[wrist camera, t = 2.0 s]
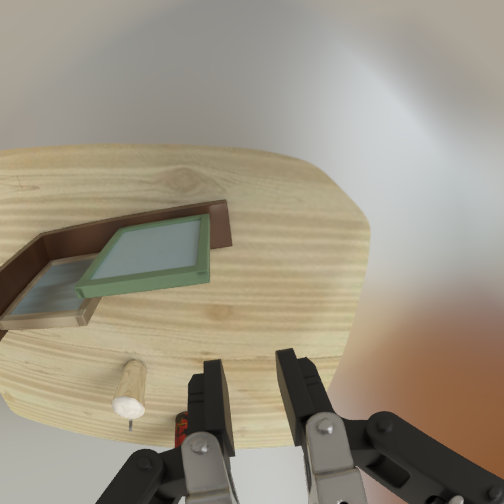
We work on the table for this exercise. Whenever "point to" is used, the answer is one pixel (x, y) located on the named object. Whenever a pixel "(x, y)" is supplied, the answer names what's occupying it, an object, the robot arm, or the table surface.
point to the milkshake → (131, 392)
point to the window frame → (77, 267)
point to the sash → (150, 258)
